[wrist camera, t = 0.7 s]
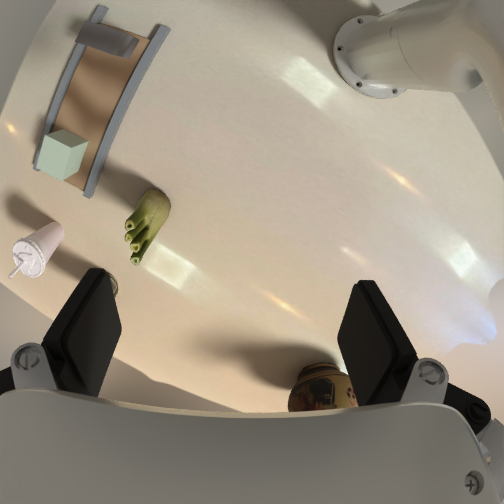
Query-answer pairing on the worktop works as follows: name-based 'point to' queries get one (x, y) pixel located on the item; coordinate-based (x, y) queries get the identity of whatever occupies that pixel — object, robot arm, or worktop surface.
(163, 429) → the robot arm
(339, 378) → the ceramic jug
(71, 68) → the lane rails
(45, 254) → the smoothie
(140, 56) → the strip
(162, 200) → the fennel bulb
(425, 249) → the worktop surface
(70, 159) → the block
